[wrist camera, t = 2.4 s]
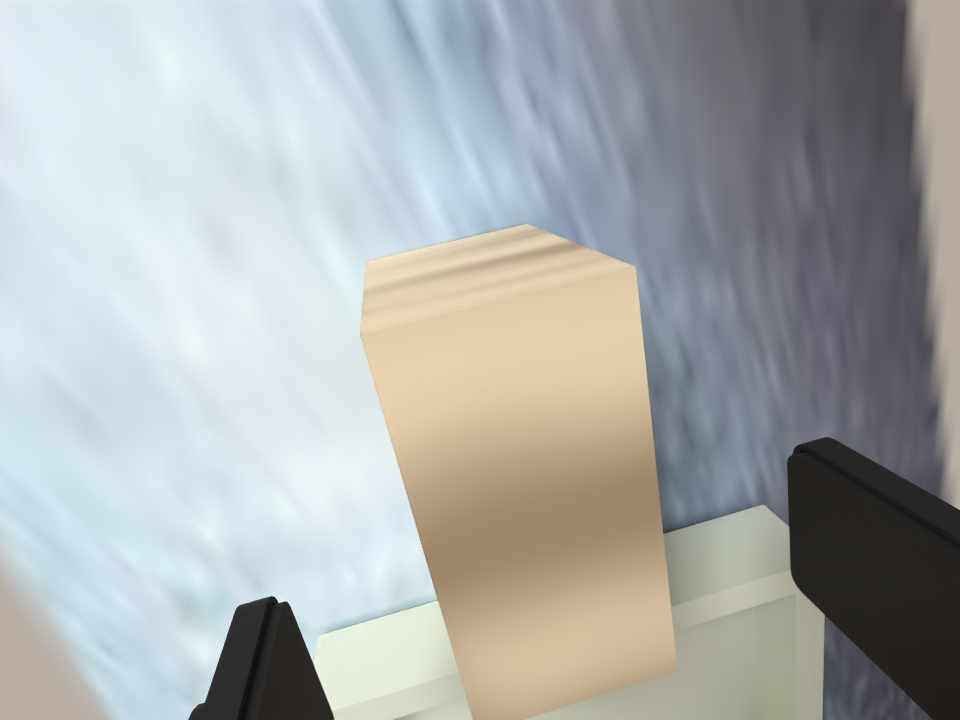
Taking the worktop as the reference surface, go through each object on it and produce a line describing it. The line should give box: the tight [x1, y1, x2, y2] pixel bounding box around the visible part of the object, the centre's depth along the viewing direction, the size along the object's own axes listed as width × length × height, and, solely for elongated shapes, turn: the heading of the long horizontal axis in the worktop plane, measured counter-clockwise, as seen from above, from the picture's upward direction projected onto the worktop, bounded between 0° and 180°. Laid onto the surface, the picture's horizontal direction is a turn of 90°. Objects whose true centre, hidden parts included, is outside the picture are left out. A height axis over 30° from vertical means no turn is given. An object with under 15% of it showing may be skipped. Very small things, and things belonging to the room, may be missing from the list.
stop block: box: [360, 224, 678, 720], centre depth 14 cm, size 9×4×7 cm, turn 11°
